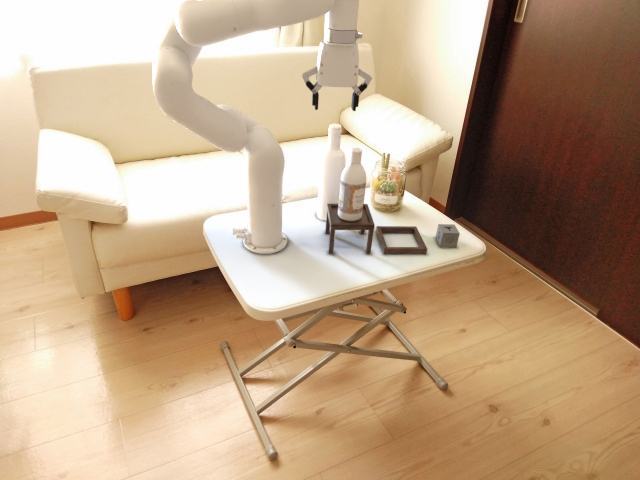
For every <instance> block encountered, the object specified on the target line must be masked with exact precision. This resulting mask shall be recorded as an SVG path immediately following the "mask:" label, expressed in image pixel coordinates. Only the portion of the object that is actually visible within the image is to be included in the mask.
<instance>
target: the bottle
mask: <svg viewBox="0 0 640 480" xmlns="http://www.w3.org/2000/svg"><path fill="white" fill-rule="evenodd" d="M342 127H343V126H342V125H341V124H339V123H331V124H329V126H328V129H327V130H328V139H327V147H326V148H324V150H323V151H321V154H320V157H319V173H318V191H317V192H318V193H317V205H316V216H317V218H318V219H320V221H321V220H322V221H325V222H326V214H327V204H339V193H340V181H341V175H342V172H343V170H344V168H345V167H346V163H347V162H346V161H347V160H346V159H347V158H346V154H345V153H344V151H343V150H342V148H341V138H342V131H343V130H342Z"/></svg>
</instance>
